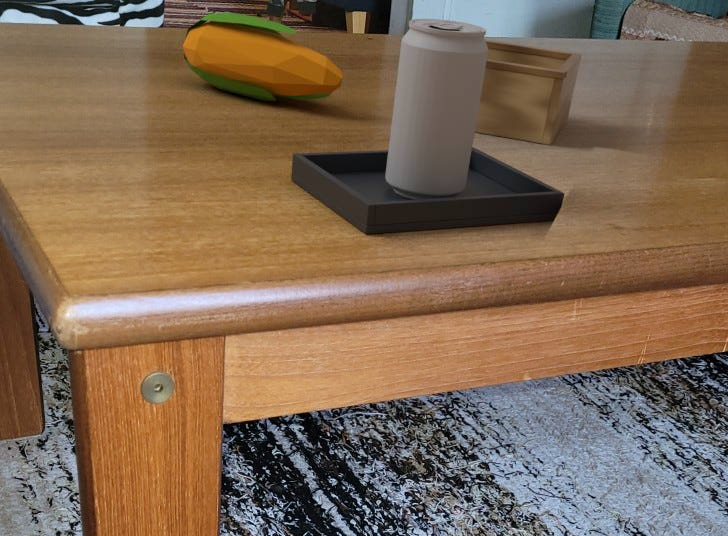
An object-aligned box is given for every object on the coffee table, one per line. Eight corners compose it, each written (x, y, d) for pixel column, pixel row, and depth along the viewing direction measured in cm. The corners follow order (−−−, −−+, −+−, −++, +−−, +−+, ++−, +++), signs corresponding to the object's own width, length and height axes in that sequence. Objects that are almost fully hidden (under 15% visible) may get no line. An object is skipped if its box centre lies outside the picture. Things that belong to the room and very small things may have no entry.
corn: (211, -3, 106) (368, 28, 97) (212, 73, 110) (363, 109, 102) (164, 7, 101) (326, 41, 92) (168, 86, 105) (322, 125, 97)
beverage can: (373, 194, 77) (392, 21, 70) (398, 175, 82) (419, 12, 75) (451, 210, 75) (479, 35, 68) (472, 189, 80) (500, 25, 73)
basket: (568, 120, 107) (582, 54, 103) (550, 145, 97) (565, 72, 93) (454, 101, 110) (464, 36, 106) (425, 124, 100) (435, 52, 96)
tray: (469, 171, 87) (473, 146, 86) (558, 220, 77) (565, 193, 76) (290, 180, 80) (292, 153, 79) (365, 234, 70) (369, 205, 69)
